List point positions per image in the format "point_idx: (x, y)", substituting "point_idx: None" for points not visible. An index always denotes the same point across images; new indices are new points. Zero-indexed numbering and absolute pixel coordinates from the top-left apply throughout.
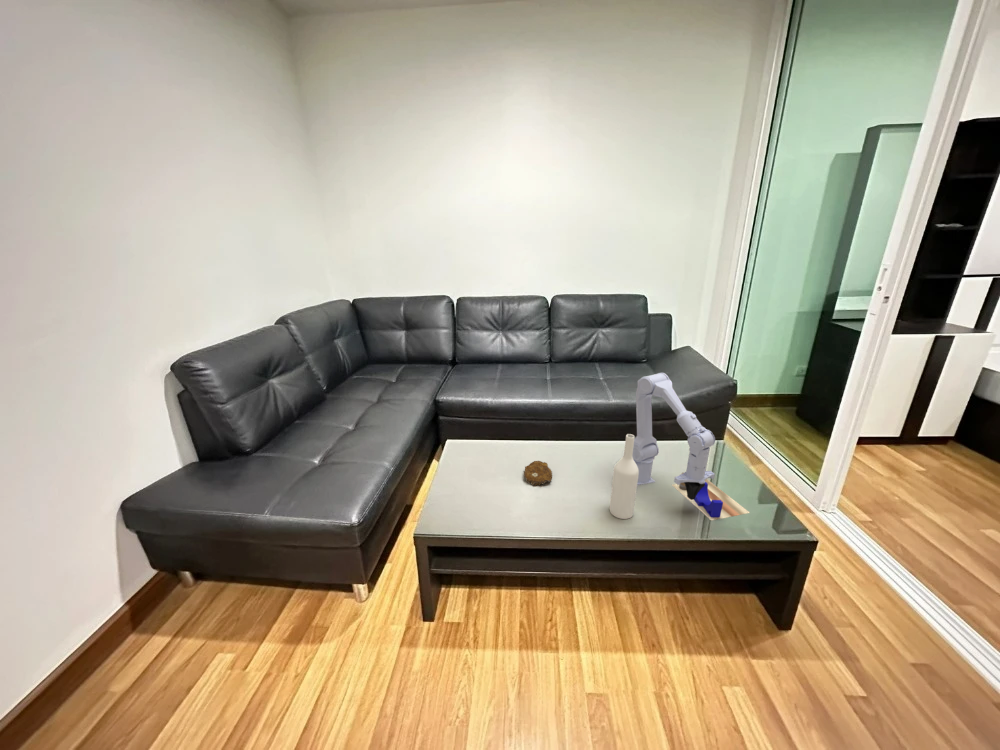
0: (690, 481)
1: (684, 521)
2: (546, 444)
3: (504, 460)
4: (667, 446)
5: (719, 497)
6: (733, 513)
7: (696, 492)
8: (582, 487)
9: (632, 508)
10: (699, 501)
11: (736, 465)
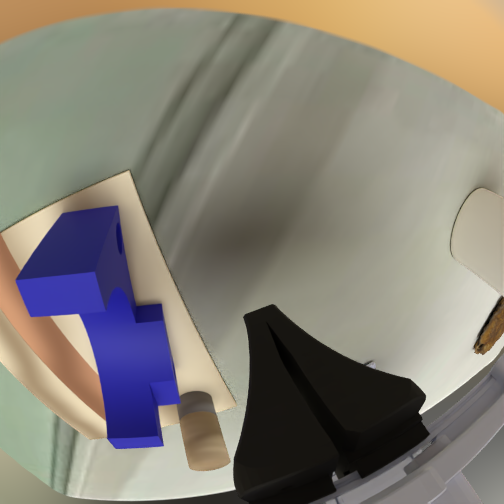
0: (478, 428)
1: (308, 159)
2: (426, 407)
3: None
4: (180, 492)
5: (44, 367)
6: None
7: (275, 364)
8: (471, 309)
9: (498, 211)
10: (158, 328)
11: (16, 458)
